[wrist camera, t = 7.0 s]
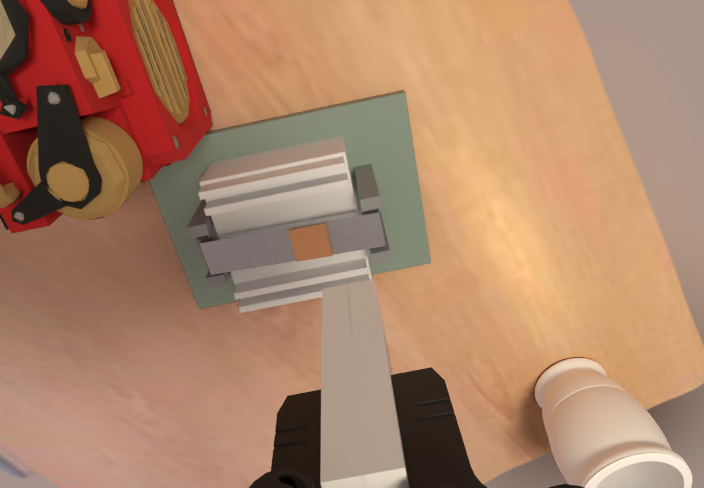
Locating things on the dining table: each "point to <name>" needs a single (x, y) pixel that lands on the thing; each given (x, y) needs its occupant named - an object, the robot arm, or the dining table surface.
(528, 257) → the dining table surface
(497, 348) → the dining table surface
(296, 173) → the heatsink
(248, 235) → the strap
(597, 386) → the jar
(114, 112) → the radio
